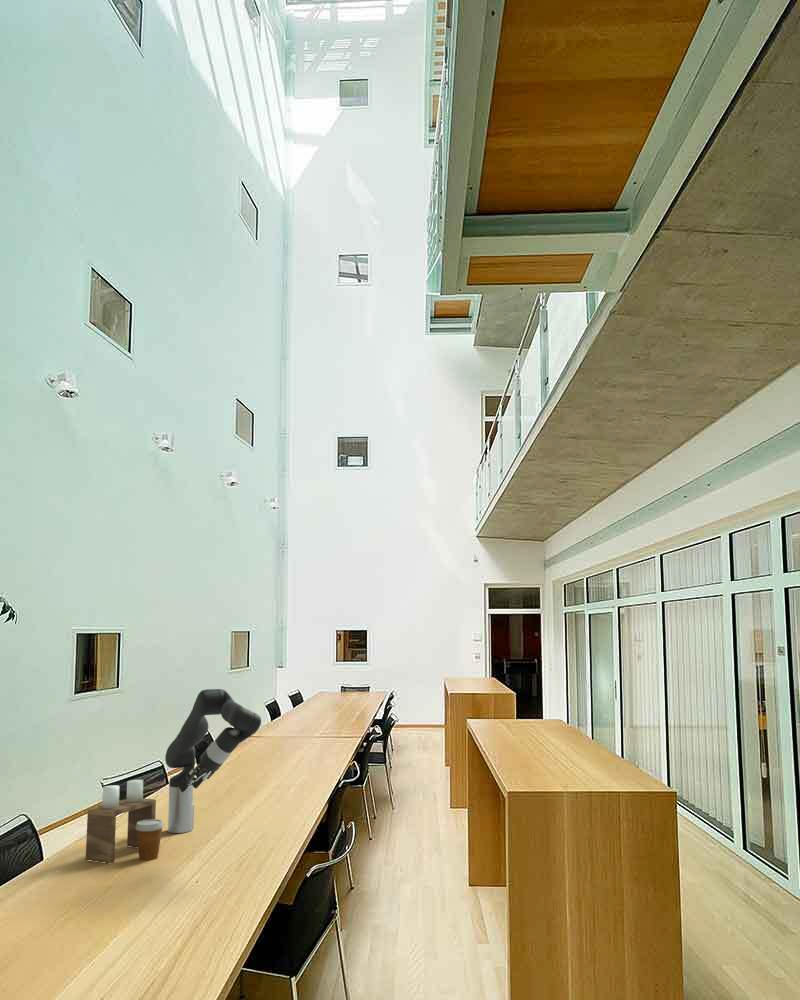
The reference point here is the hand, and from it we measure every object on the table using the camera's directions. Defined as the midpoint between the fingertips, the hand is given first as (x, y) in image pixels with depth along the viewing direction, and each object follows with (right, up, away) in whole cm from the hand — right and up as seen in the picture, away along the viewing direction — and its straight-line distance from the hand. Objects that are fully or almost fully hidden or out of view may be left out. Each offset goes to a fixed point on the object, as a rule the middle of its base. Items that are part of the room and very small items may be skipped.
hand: (187, 788), depth 286 cm
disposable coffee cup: (-14, -26, +3) cm, 29 cm away
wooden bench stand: (-26, -26, +8) cm, 38 cm away
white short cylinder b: (-28, -9, +5) cm, 30 cm away
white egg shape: (-23, -10, +16) cm, 30 cm away
